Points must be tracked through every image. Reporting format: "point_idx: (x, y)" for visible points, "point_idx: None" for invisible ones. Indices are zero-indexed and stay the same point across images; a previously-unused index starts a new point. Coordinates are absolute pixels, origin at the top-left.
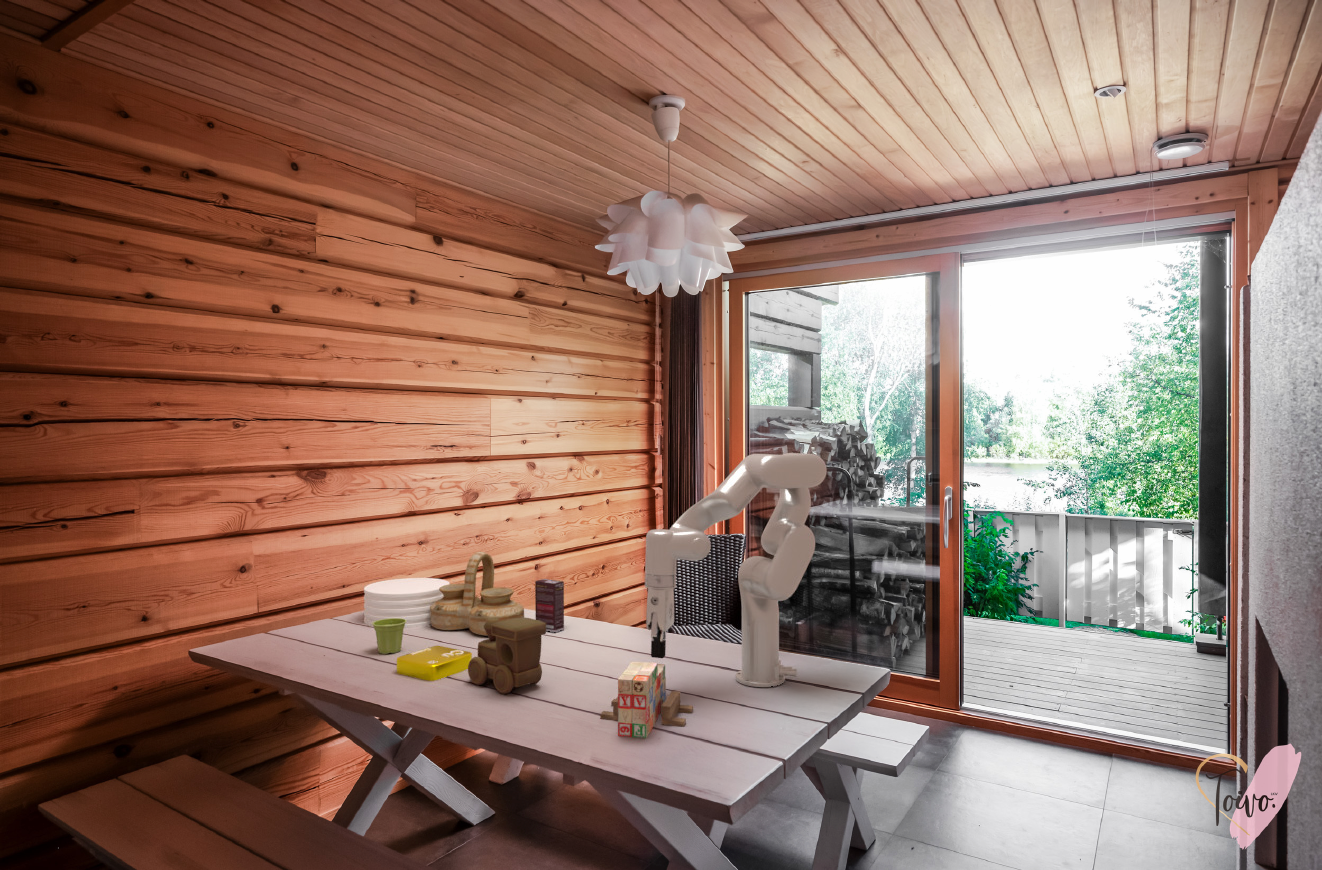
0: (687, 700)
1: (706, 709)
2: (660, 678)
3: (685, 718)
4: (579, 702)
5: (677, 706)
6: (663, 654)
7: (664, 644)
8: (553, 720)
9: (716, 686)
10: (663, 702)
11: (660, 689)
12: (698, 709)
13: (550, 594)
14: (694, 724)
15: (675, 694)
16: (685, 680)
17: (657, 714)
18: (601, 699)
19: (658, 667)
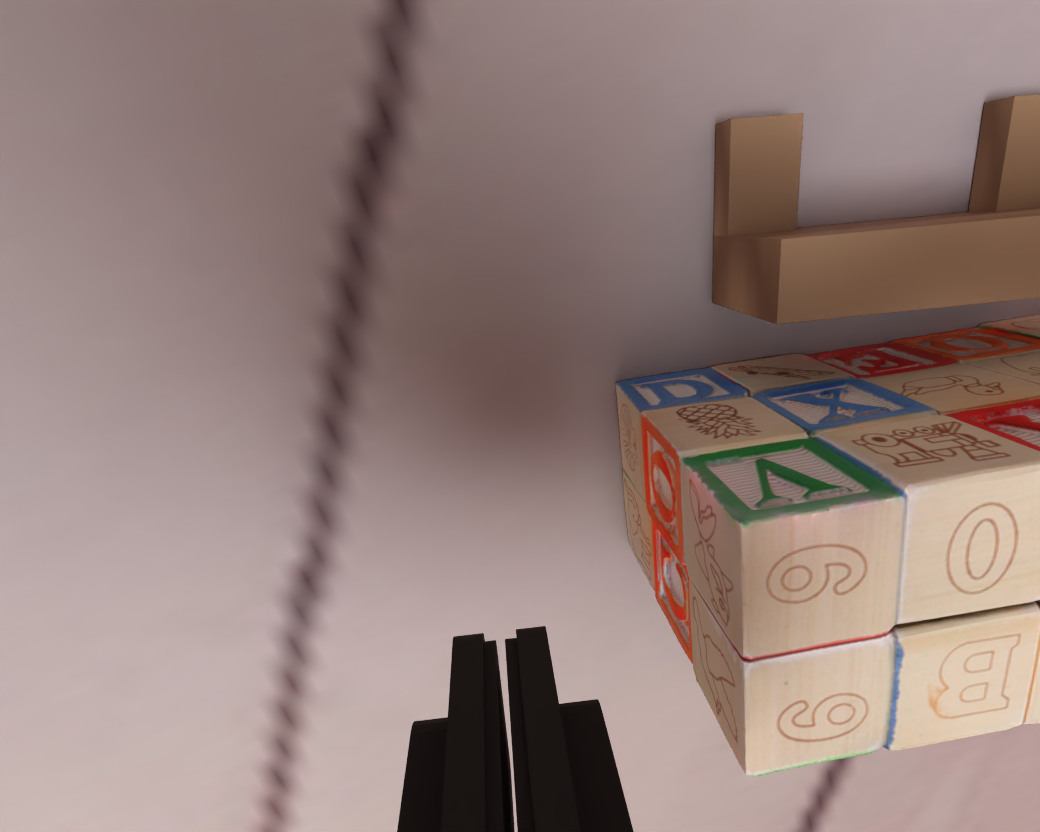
0: (513, 238)
1: (671, 9)
2: (1003, 436)
3: (1014, 98)
4: (734, 816)
5: (842, 226)
6: (549, 657)
7: (545, 784)
8: (992, 804)
9: (44, 75)
10: (728, 373)
11: (913, 400)
12: (687, 83)
13: None
14: (1002, 23)
15: (864, 259)
16: (47, 406)
17: (915, 344)
18: (661, 748)
19: (887, 549)
